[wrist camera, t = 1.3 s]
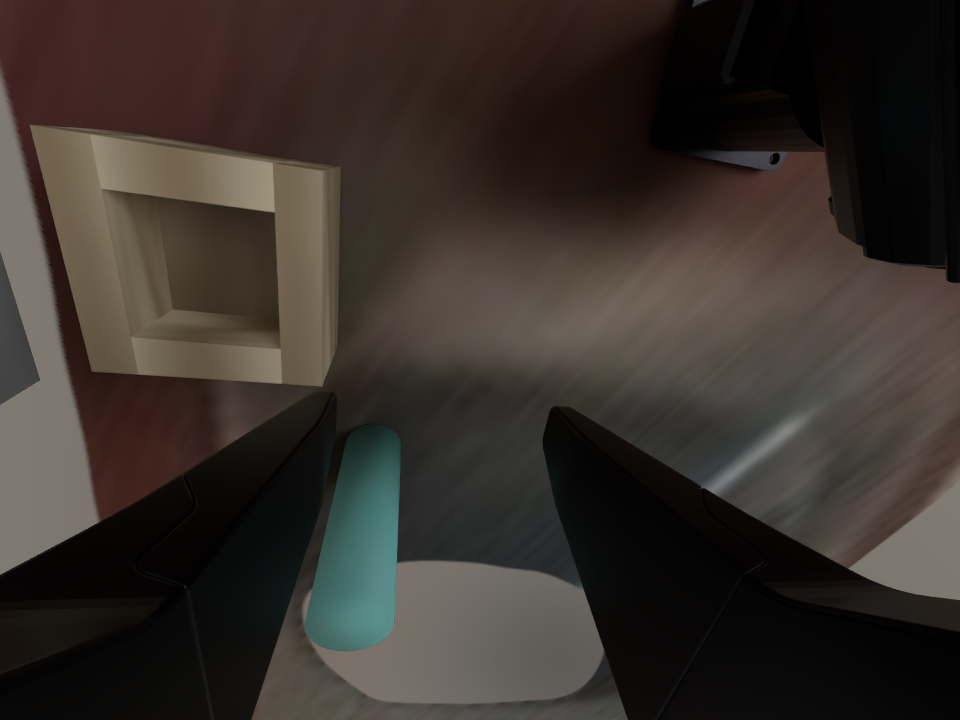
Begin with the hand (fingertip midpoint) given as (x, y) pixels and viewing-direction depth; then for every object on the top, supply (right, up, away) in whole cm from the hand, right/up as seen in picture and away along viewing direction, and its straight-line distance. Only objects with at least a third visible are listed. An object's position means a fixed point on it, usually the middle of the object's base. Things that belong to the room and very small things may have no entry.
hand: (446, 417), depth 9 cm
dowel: (-5, -4, +14) cm, 16 cm away
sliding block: (-10, +6, +9) cm, 14 cm away
